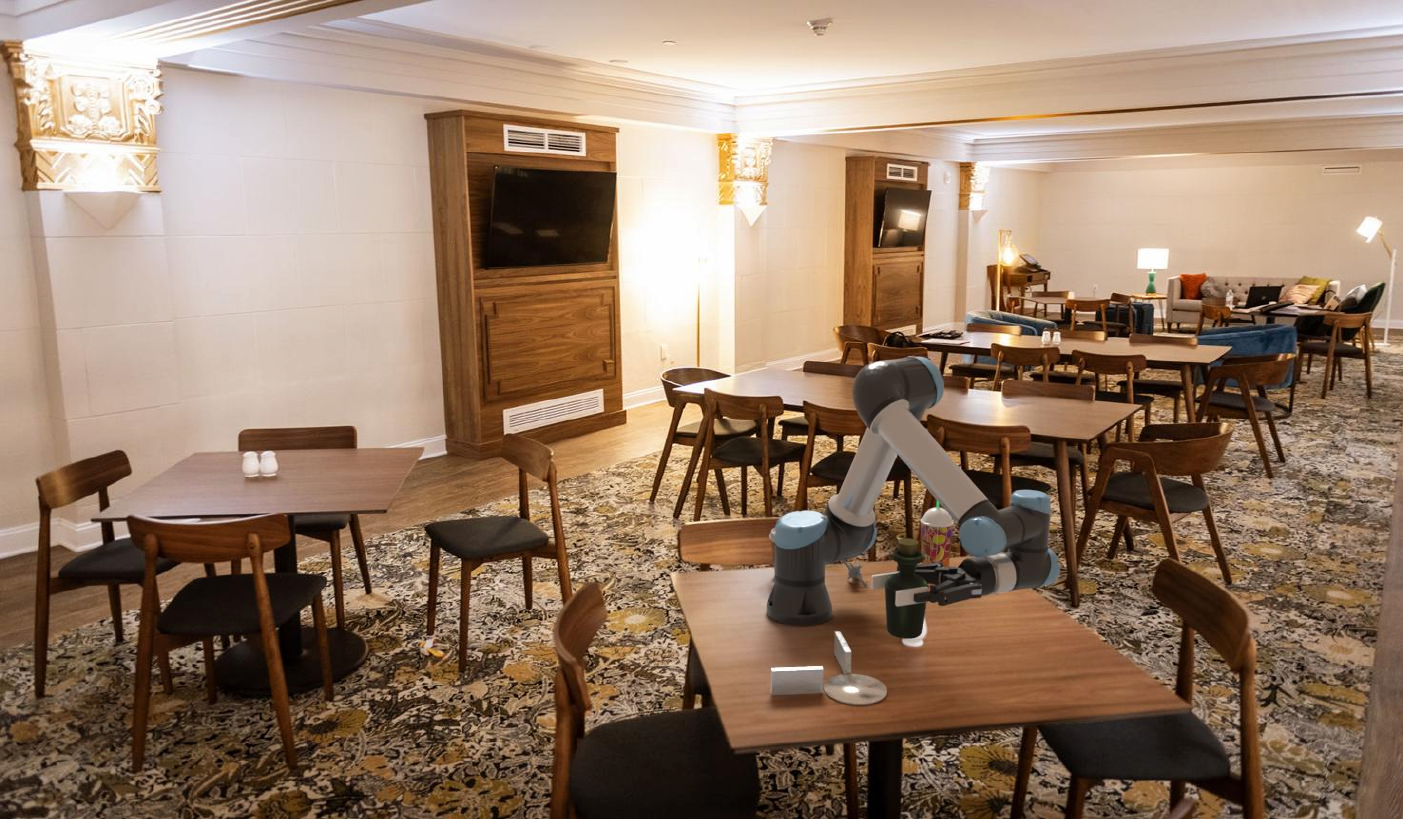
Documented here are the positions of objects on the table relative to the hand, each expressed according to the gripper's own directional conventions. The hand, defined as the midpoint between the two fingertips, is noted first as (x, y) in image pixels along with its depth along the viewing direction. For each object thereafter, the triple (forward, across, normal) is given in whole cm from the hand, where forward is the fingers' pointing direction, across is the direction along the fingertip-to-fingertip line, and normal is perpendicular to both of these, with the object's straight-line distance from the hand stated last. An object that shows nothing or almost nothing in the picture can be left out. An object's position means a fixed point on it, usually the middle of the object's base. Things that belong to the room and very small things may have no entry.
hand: (884, 590), depth 180 cm
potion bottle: (-5, 0, -9) cm, 10 cm away
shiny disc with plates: (+4, +8, -22) cm, 23 cm away
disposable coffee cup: (-12, +66, -22) cm, 71 cm away
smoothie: (-50, +55, -22) cm, 78 cm away
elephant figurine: (-26, +57, -22) cm, 66 cm away
